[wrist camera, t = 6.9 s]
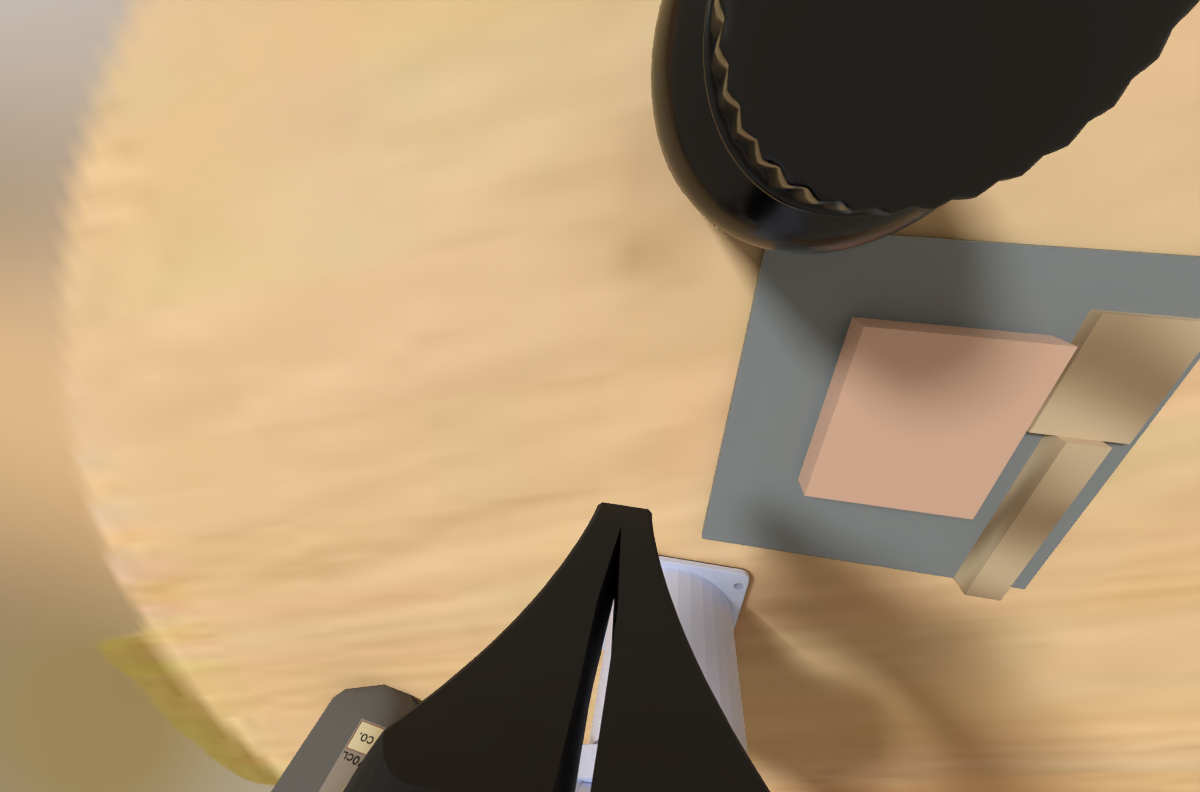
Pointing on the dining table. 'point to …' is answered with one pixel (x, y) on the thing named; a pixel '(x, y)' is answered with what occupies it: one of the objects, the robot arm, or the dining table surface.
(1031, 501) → the turner
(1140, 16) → the supplement bottle
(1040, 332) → the mat
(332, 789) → the liquor
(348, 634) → the dining table surface
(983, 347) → the tile
